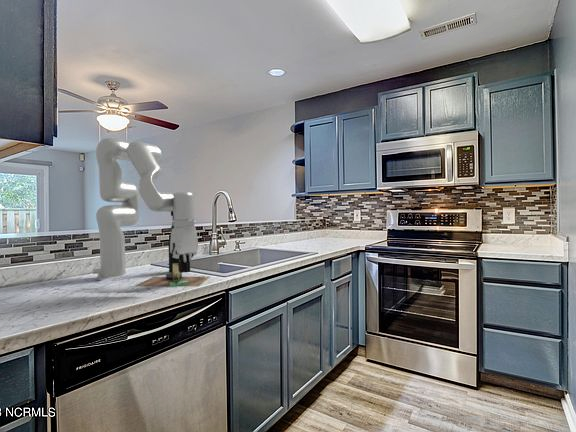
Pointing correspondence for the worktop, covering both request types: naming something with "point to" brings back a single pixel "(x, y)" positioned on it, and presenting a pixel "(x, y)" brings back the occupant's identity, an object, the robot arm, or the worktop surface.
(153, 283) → the board
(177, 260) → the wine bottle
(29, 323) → the worktop surface
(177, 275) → the tuning dial
